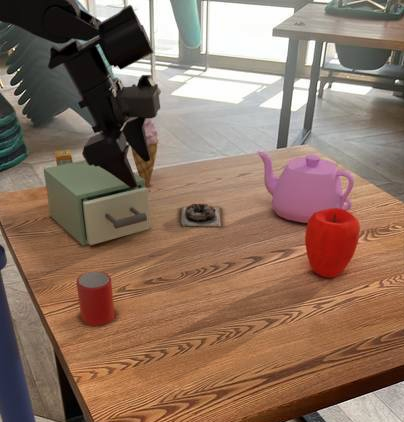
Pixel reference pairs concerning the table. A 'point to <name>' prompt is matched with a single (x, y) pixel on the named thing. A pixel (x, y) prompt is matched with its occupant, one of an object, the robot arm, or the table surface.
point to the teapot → (306, 187)
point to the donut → (200, 215)
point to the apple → (331, 241)
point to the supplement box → (63, 157)
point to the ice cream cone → (152, 141)
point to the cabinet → (78, 192)
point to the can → (95, 298)
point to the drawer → (115, 214)
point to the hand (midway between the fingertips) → (141, 173)
